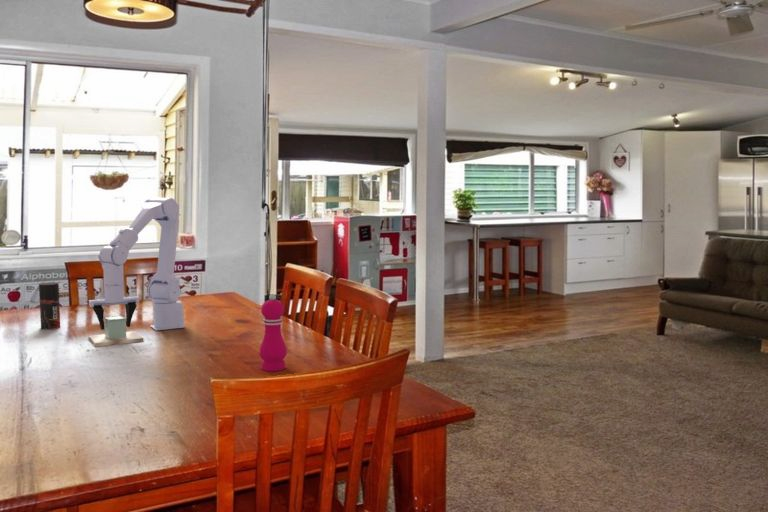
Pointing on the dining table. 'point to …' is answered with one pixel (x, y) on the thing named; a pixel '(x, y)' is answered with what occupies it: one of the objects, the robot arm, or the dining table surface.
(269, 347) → the pepper mill
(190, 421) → the dining table surface
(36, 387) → the dining table surface
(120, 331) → the mint green grooved cube
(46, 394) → the dining table surface
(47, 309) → the deodorant
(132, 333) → the board
